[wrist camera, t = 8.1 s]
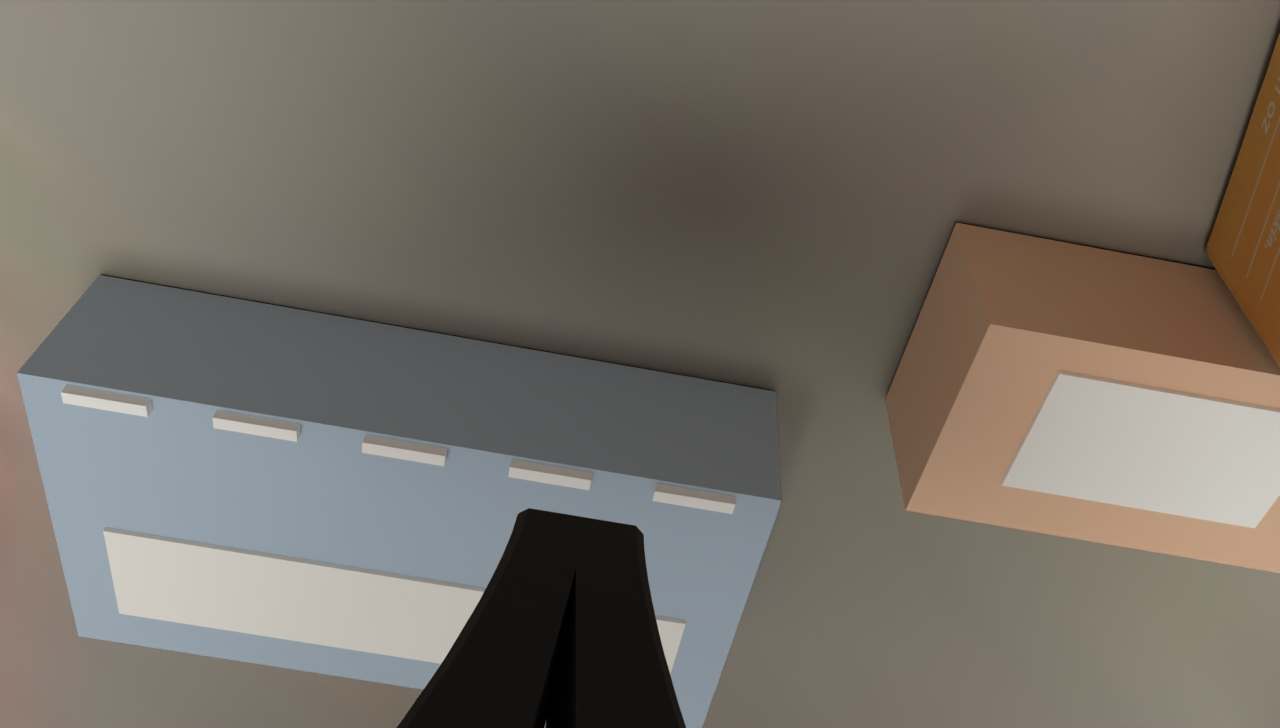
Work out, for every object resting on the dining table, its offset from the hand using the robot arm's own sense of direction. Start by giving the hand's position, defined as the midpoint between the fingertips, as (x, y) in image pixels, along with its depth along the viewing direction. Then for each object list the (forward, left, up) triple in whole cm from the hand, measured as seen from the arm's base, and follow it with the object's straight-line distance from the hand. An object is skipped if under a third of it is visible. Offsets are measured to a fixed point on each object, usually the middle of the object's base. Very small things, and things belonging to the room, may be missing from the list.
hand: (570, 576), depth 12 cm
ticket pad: (-7, +3, -8) cm, 11 cm away
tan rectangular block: (-1, -9, -8) cm, 12 cm away
